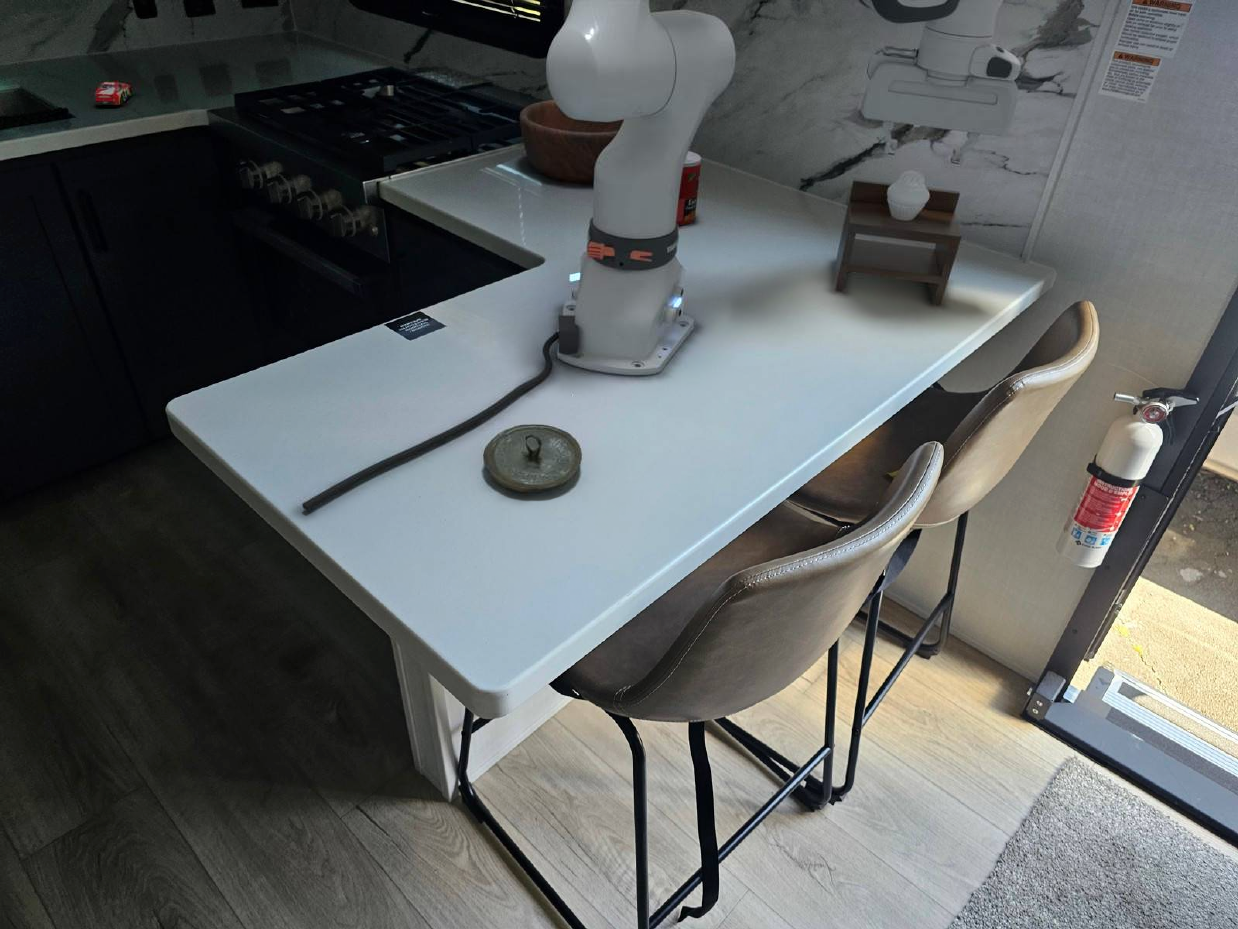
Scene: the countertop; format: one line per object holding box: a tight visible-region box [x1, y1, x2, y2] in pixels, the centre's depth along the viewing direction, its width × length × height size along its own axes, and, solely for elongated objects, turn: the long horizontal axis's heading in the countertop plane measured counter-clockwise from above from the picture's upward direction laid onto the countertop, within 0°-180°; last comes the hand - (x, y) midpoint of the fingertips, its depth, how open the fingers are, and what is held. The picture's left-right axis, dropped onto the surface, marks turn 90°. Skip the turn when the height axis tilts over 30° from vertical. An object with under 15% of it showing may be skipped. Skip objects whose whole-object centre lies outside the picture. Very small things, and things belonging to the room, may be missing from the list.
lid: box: [482, 423, 583, 493], centre depth 91 cm, size 11×10×5 cm
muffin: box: [887, 170, 930, 221], centre depth 126 cm, size 6×6×7 cm
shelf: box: [834, 178, 963, 306], centre depth 131 cm, size 11×16×14 cm
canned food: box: [676, 150, 702, 226], centre depth 150 cm, size 8×8×11 cm
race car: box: [94, 81, 133, 106], centre depth 192 cm, size 13×5×4 cm, turn 10°
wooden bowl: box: [519, 99, 624, 184], centre depth 170 cm, size 25×25×10 cm
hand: (922, 157), depth 122 cm, fingers open, 8 cm apart
